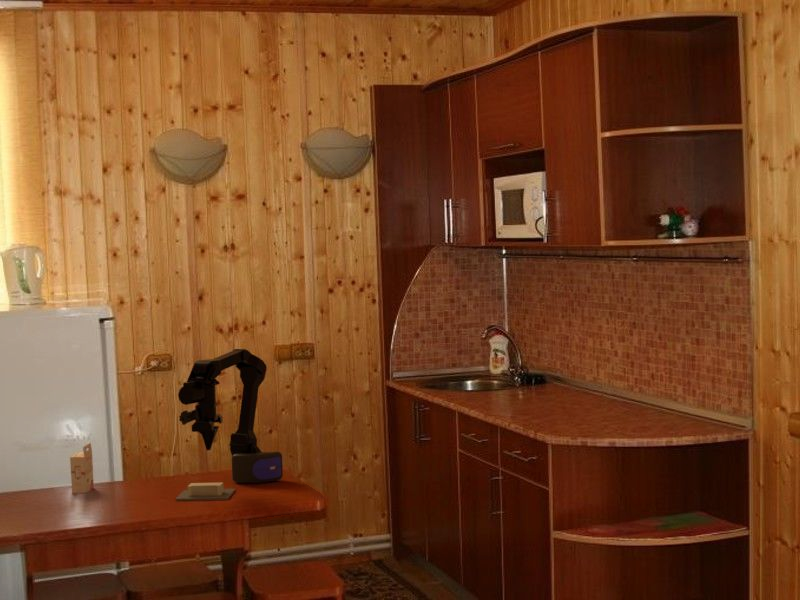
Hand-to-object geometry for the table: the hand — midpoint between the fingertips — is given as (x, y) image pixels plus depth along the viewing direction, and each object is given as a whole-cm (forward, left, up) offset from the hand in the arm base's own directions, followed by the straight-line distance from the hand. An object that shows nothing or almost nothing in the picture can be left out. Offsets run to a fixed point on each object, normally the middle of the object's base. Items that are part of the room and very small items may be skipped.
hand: (208, 450), depth 371 cm
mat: (+6, 0, -13) cm, 15 cm away
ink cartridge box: (-5, -42, -13) cm, 44 cm away
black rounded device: (-13, +13, -13) cm, 23 cm away
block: (+4, 0, -11) cm, 12 cm away
